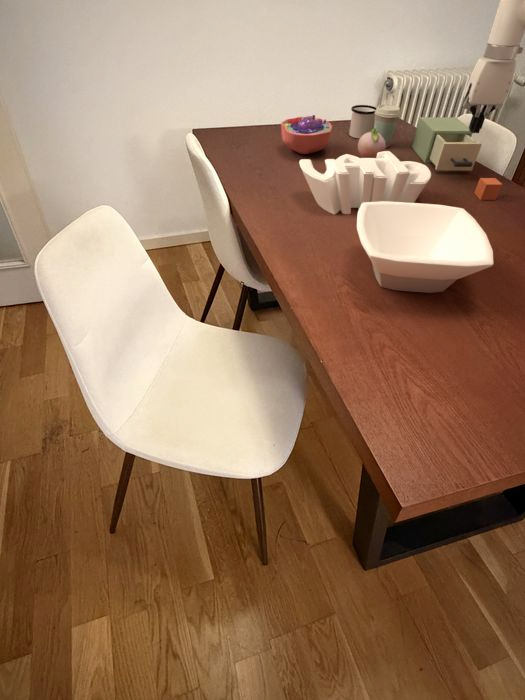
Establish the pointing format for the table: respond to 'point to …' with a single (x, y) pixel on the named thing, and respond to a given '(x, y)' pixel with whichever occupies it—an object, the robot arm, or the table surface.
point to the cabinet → (435, 126)
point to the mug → (361, 120)
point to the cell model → (305, 134)
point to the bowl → (421, 244)
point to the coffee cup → (386, 121)
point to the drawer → (454, 152)
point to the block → (488, 189)
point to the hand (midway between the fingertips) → (473, 131)
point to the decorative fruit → (371, 144)
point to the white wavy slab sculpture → (364, 181)
